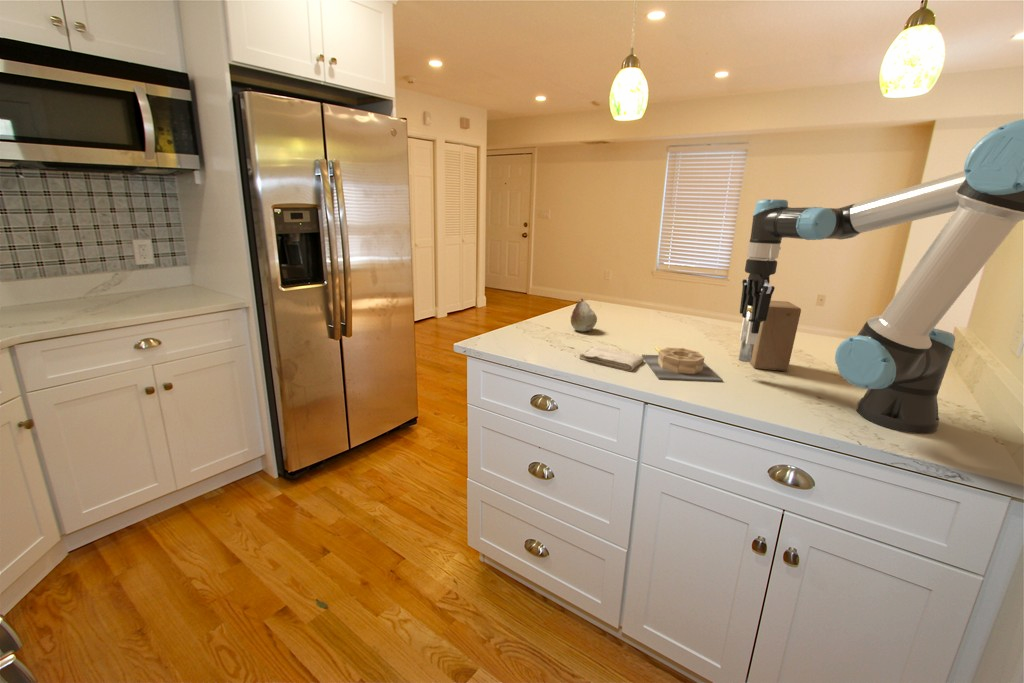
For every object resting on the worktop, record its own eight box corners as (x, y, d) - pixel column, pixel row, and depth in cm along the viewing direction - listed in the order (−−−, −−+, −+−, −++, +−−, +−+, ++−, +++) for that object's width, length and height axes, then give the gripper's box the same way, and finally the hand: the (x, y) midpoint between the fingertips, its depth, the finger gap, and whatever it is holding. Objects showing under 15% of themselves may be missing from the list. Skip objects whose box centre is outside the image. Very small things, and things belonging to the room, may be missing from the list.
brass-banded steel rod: (753, 362, 131) (762, 307, 126) (741, 362, 131) (750, 307, 126) (747, 358, 134) (757, 305, 129) (736, 358, 134) (745, 304, 130)
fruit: (582, 325, 184) (585, 296, 180) (601, 331, 177) (604, 300, 173) (565, 329, 177) (567, 299, 174) (583, 335, 171) (586, 303, 167)
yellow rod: (663, 356, 150) (664, 353, 150) (661, 356, 150) (661, 353, 150) (656, 348, 158) (657, 345, 158) (654, 348, 158) (654, 345, 158)
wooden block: (788, 372, 139) (803, 308, 133) (753, 369, 141) (766, 305, 135) (777, 361, 148) (790, 301, 143) (744, 358, 150) (755, 298, 144)
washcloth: (592, 351, 154) (593, 342, 153) (644, 363, 145) (646, 353, 144) (576, 360, 145) (577, 351, 144) (631, 373, 135) (632, 363, 134)
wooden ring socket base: (722, 381, 130) (725, 366, 128) (658, 379, 130) (660, 364, 129) (697, 358, 149) (699, 345, 148) (641, 356, 149) (643, 342, 148)
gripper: (792, 262, 116) (776, 350, 123) (761, 256, 132) (748, 334, 138) (762, 261, 117) (747, 349, 123) (735, 255, 132) (722, 334, 139)
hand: (747, 341), depth 131 cm, fingers closed on brass-banded steel rod, 3 cm apart
